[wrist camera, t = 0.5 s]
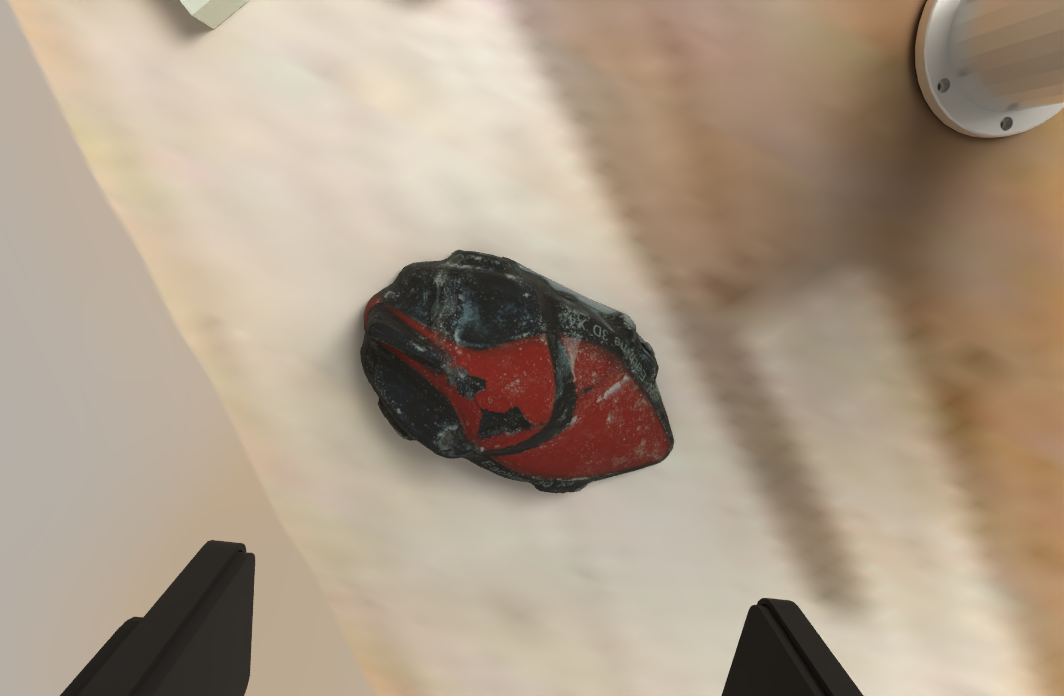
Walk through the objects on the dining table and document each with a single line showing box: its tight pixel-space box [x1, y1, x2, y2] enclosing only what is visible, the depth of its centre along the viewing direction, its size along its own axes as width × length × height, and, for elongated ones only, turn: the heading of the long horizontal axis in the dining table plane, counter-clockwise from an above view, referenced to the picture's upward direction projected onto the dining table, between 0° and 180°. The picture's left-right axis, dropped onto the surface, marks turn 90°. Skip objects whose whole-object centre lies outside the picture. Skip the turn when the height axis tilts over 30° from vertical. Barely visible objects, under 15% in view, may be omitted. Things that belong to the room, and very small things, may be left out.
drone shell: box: [360, 250, 674, 493], centre depth 37 cm, size 21×20×8 cm
